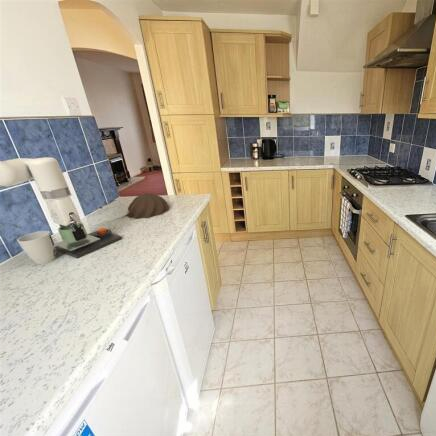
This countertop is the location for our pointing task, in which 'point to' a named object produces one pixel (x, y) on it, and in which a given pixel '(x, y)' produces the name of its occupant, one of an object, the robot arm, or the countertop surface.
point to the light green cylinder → (69, 233)
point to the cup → (38, 246)
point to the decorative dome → (147, 206)
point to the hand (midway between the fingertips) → (75, 237)
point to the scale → (93, 244)
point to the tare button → (101, 231)
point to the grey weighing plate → (76, 243)
